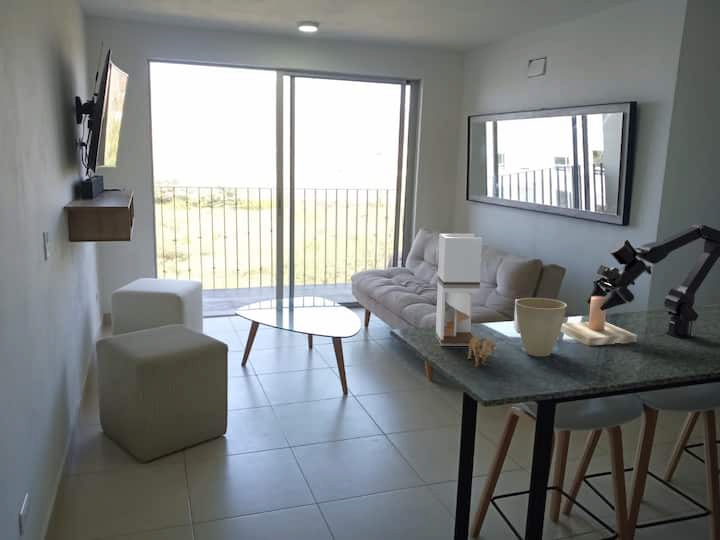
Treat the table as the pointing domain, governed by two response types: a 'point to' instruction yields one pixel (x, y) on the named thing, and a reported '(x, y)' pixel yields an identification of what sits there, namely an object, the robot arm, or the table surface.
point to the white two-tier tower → (457, 287)
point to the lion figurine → (481, 349)
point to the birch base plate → (597, 334)
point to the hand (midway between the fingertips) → (594, 306)
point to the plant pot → (539, 324)
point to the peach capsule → (597, 314)
